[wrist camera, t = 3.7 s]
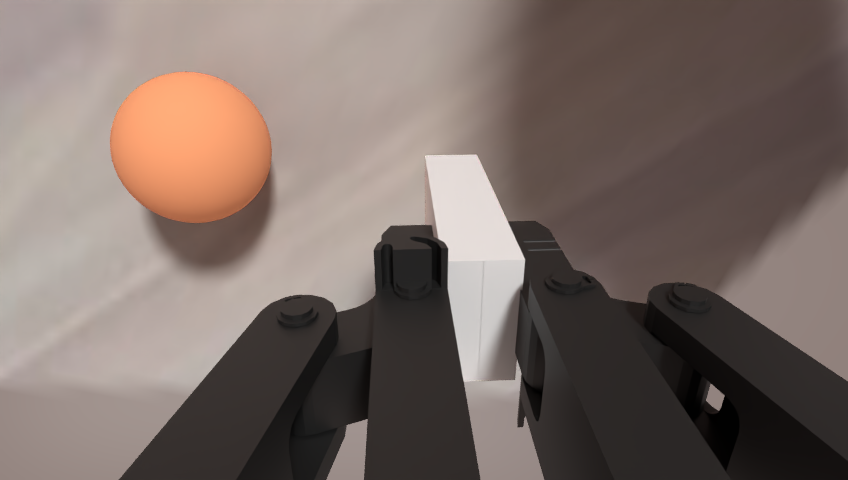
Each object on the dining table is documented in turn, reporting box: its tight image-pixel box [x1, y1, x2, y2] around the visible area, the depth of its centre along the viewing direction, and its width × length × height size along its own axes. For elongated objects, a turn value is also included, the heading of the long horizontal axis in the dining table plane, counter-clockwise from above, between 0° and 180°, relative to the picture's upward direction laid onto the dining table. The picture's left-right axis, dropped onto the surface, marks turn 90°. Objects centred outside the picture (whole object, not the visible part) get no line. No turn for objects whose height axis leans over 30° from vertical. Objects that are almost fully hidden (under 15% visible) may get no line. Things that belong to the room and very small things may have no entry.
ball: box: [110, 72, 272, 223], centre depth 20 cm, size 6×6×6 cm
